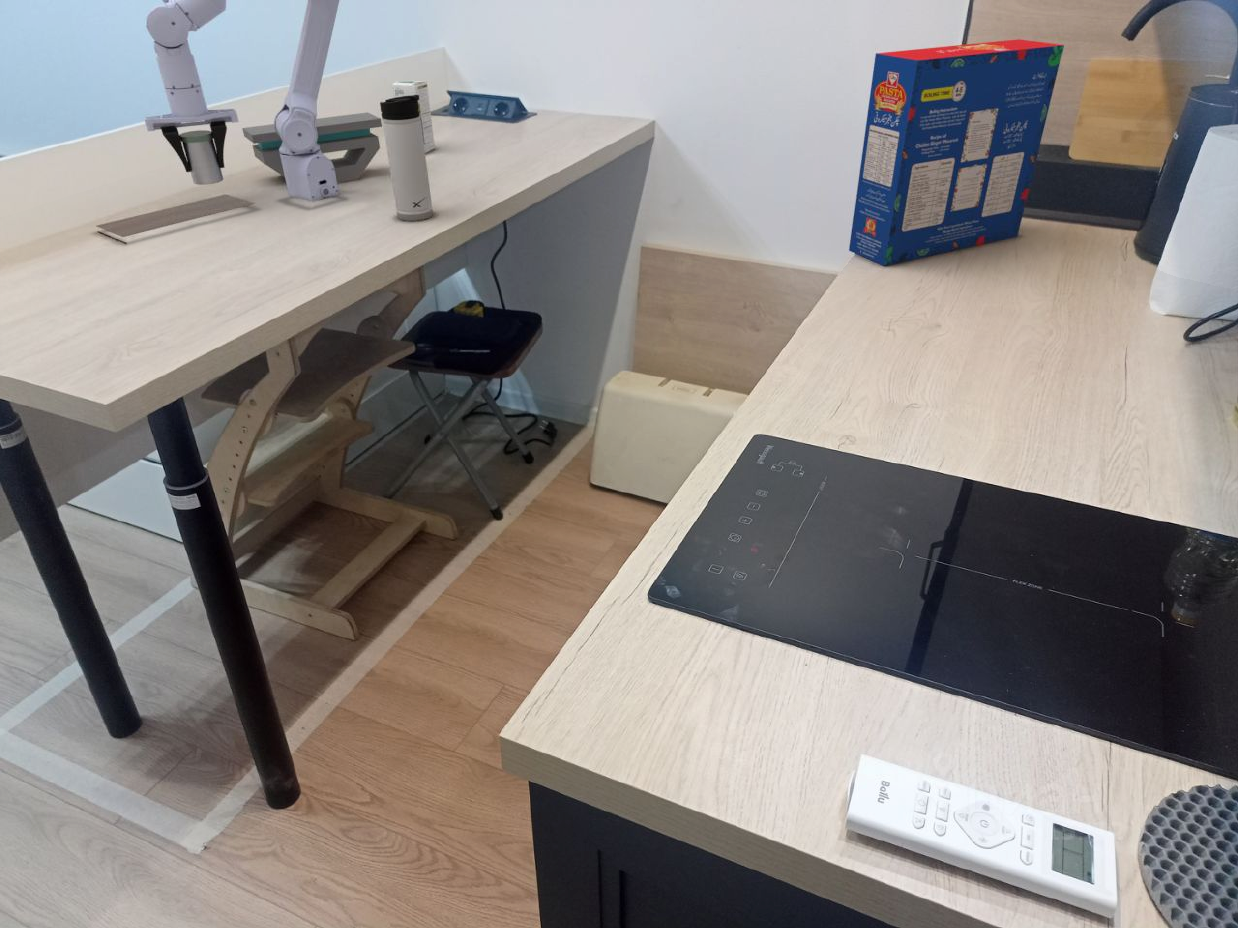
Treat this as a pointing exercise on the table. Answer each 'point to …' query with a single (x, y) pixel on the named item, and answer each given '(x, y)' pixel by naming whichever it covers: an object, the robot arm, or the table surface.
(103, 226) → the board
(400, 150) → the travel mug
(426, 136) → the syrup box
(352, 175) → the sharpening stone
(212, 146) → the tin
